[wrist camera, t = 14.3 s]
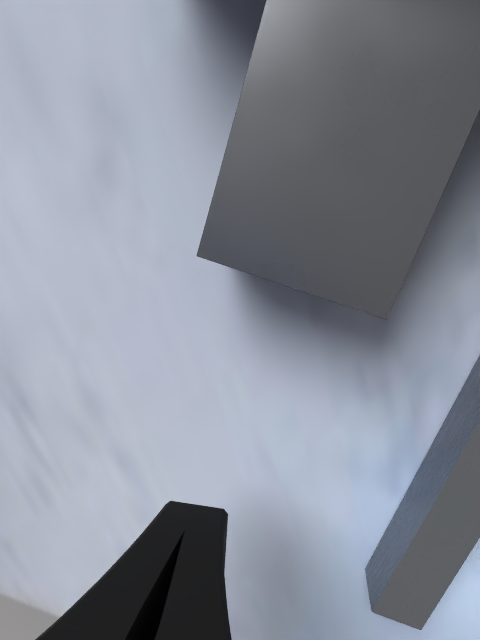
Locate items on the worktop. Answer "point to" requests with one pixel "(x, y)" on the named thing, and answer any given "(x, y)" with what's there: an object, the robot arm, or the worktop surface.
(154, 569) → the robot arm
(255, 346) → the worktop surface
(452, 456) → the vise
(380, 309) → the sliding jaw
